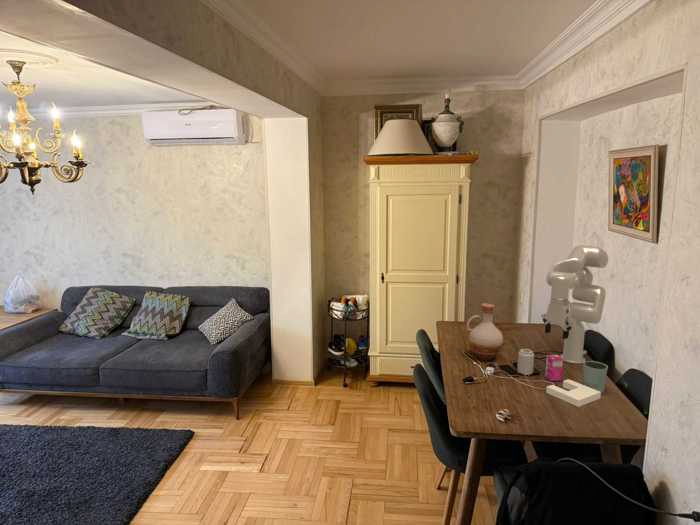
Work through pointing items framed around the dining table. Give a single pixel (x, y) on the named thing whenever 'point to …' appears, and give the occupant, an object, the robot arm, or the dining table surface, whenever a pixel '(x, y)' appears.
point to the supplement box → (554, 368)
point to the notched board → (574, 393)
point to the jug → (485, 335)
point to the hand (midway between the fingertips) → (556, 335)
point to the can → (525, 361)
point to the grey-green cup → (595, 375)
